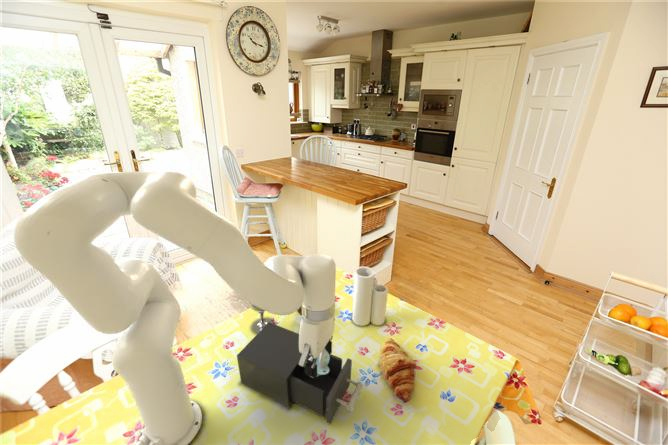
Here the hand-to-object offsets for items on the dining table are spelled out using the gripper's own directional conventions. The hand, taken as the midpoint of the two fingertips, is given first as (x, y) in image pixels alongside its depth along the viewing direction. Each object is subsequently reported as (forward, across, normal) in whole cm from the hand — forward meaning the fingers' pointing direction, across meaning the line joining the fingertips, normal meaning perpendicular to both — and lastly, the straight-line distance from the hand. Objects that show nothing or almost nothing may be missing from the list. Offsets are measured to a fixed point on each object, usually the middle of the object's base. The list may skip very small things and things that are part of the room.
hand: (318, 362), depth 73 cm
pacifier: (+2, 0, 0) cm, 2 cm away
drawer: (+11, 0, +2) cm, 11 cm away
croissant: (+12, -16, +17) cm, 26 cm away
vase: (+12, -33, +2) cm, 35 cm away
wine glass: (+12, -13, -29) cm, 34 cm away
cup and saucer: (+12, -28, -18) cm, 35 cm away
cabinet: (+12, 0, -13) cm, 18 cm away
